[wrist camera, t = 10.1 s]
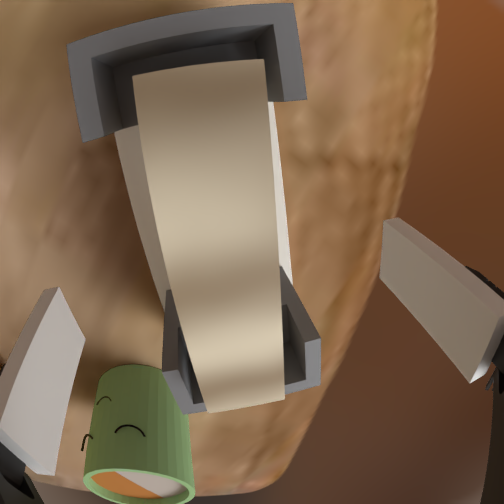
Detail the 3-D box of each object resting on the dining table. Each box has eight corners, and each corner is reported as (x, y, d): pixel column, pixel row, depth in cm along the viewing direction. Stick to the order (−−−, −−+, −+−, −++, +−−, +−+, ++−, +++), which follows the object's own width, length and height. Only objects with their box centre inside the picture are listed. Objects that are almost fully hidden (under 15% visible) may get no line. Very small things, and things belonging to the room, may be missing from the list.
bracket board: (105, 63, 18) (50, 40, 9) (260, 34, 19) (308, -7, 10) (173, 330, 28) (174, 420, 20) (291, 306, 30) (330, 386, 21)
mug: (151, 349, 29) (145, 458, 18) (203, 406, 34) (215, 498, 23) (63, 383, 29) (41, 473, 19) (119, 431, 34) (115, 512, 24)
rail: (152, 85, 14) (132, 76, 9) (239, 73, 15) (263, 59, 10) (200, 346, 22) (208, 413, 17) (263, 335, 23) (284, 399, 17)
